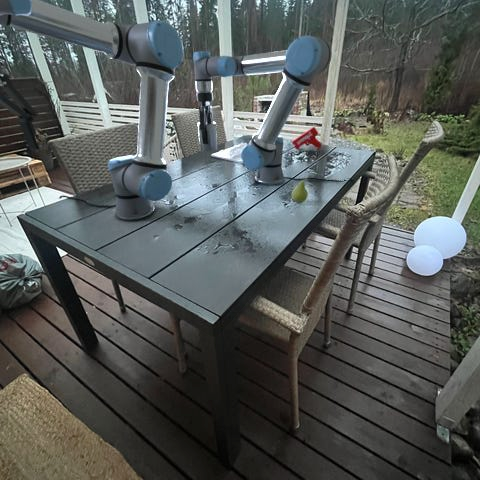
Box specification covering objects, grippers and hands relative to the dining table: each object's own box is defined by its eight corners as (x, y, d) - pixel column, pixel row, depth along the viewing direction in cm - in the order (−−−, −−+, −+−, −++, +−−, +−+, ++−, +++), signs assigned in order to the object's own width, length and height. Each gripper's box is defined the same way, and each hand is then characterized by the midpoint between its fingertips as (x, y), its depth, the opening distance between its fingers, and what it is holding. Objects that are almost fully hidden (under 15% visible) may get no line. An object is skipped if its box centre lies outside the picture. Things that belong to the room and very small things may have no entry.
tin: (209, 146, 146) (207, 120, 139) (220, 149, 141) (219, 122, 134) (196, 149, 141) (193, 123, 134) (207, 152, 135) (205, 125, 129)
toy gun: (325, 144, 195) (314, 126, 192) (324, 145, 192) (313, 127, 188) (303, 157, 205) (292, 140, 202) (302, 159, 202) (291, 142, 198)
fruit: (288, 200, 123) (290, 174, 116) (302, 197, 125) (305, 172, 119) (296, 206, 118) (299, 179, 111) (310, 203, 120) (314, 177, 114)
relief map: (253, 165, 166) (254, 157, 163) (211, 156, 184) (210, 148, 181) (276, 155, 184) (277, 147, 181) (235, 147, 202) (235, 140, 199)
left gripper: (-126, 41, 42) (-47, 173, 54) (31, 48, 62) (64, 144, 73) (-148, 42, 45) (-68, 169, 56) (9, 49, 64) (45, 142, 76)
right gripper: (203, 90, 136) (207, 137, 148) (189, 93, 118) (194, 146, 130) (217, 90, 135) (220, 137, 147) (205, 93, 117) (209, 147, 129)
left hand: (7, 155), depth 65 cm, fingers open, 13 cm apart
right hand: (208, 141), depth 139 cm, fingers closed on tin, 9 cm apart
